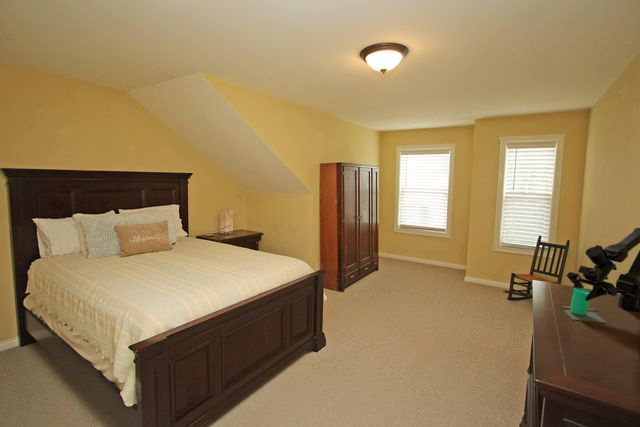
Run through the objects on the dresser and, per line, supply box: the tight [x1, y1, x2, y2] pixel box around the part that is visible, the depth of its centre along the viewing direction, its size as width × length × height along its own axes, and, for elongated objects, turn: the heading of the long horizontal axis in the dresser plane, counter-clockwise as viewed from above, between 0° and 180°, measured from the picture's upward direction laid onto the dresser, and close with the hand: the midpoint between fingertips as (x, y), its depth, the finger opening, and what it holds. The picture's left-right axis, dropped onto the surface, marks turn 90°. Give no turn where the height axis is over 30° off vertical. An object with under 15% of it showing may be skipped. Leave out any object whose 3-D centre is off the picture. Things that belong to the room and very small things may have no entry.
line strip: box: [561, 305, 599, 312], centre depth 154 cm, size 14×2×1 cm, turn 73°
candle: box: [569, 287, 591, 316], centre depth 147 cm, size 6×6×12 cm
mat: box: [562, 309, 607, 324], centre depth 146 cm, size 12×10×1 cm
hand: (579, 297), depth 146 cm, fingers closed on candle, 5 cm apart
